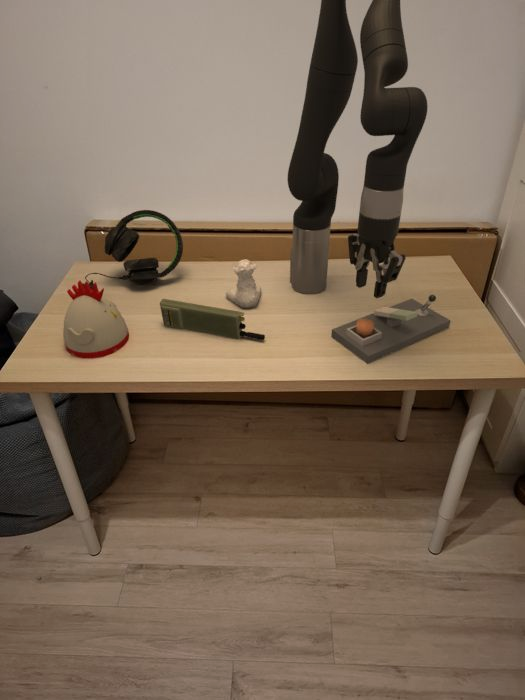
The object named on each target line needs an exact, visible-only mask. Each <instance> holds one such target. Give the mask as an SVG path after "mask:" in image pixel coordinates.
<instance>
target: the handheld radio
mask: <svg viewBox="0 0 525 700" xmlns="http://www.w3.org/2000/svg"><path fill="white" fill-rule="evenodd" d="M159 306H160V311H161V317H162V322H163V327H169V328H174V329H181V330H185V331H192V332H196V333H202V334H206V335H212V336H216V337H217V336H218V337H224V338H228V339H234V340H240V339H241V338H242V337H243V338H244V337H246V338H249V339H255V340H260V341H265V339H266V335H265V334H263V333H257V332H251V331H244V330H245V329H246V327H247V326H246V324H245V323H242V322H245V317H244V315H245V314H246V312H243V311H238V310H234V309H233V310H232V309H227V308H222V307H221V308H220V307H217V306H216V307H214V306H209V305H204V304H197V303H193V302H186V301H185V302H184V301H180V300H173V299H167V298H162V299H161V300H160V302H159Z"/></svg>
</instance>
